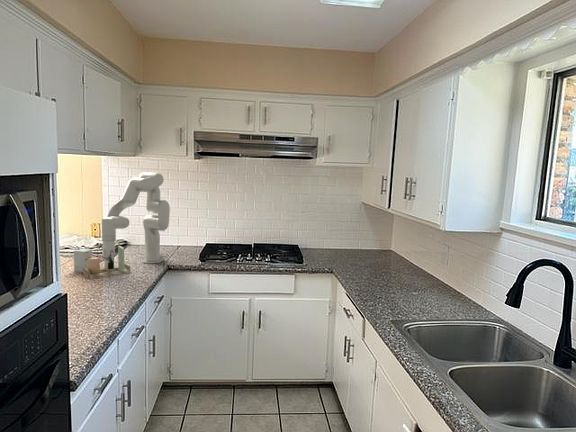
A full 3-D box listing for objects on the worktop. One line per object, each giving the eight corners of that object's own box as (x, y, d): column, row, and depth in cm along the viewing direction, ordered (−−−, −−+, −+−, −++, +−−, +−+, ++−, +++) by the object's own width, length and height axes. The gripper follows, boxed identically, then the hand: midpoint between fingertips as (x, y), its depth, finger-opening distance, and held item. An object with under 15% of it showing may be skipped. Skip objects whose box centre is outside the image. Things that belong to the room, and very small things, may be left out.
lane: (124, 268, 255) (124, 262, 255) (130, 272, 247) (130, 265, 247) (83, 274, 240) (82, 267, 239) (87, 278, 232) (87, 271, 231)
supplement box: (84, 272, 244) (84, 251, 242) (73, 271, 245) (73, 250, 244) (92, 269, 251) (92, 249, 249) (82, 268, 252) (81, 248, 251)
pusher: (123, 268, 253) (123, 245, 252) (127, 271, 248) (127, 247, 246) (118, 269, 251) (117, 246, 250) (122, 272, 245) (122, 248, 244)
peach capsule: (98, 273, 243) (98, 256, 242) (101, 275, 239) (101, 258, 237) (86, 274, 239) (86, 257, 238) (89, 277, 234) (89, 260, 233)
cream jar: (103, 268, 244) (102, 257, 244) (112, 267, 248) (112, 256, 247) (105, 270, 240) (105, 259, 239) (115, 269, 244) (115, 258, 243)
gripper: (98, 236, 246) (98, 265, 248) (106, 241, 233) (107, 272, 235) (111, 235, 251) (111, 264, 253) (120, 240, 238) (120, 270, 240)
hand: (109, 267), depth 244 cm, fingers closed on cream jar, 5 cm apart
